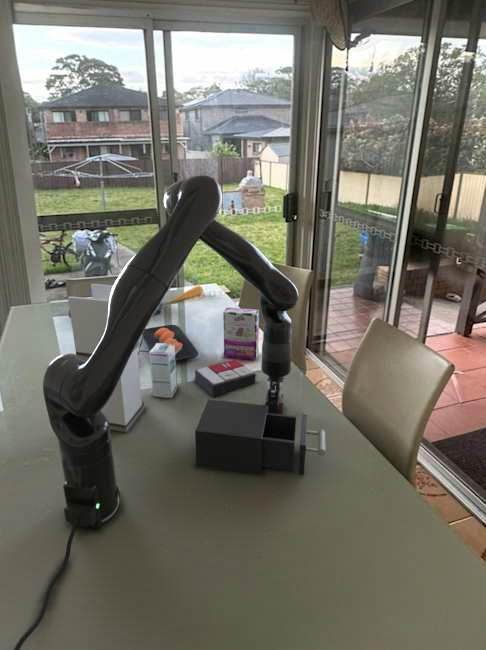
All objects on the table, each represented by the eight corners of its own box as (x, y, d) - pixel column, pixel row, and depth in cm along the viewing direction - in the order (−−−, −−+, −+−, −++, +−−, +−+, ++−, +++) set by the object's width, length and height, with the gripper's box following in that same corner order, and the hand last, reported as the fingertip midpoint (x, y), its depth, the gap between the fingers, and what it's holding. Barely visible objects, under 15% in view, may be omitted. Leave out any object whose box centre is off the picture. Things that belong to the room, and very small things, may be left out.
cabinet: (267, 438, 108) (268, 405, 104) (260, 475, 96) (261, 438, 93) (208, 432, 110) (208, 399, 107) (196, 466, 99) (194, 430, 95)
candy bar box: (258, 353, 150) (259, 309, 144) (256, 360, 146) (257, 314, 140) (226, 350, 153) (226, 306, 147) (223, 357, 148) (223, 311, 142)
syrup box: (172, 398, 125) (169, 352, 119) (152, 396, 126) (148, 351, 121) (177, 388, 130) (175, 343, 125) (158, 386, 131) (155, 342, 126)
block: (281, 417, 116) (282, 403, 114) (264, 416, 117) (265, 401, 115) (283, 408, 120) (283, 394, 118) (266, 406, 121) (267, 392, 119)
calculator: (256, 371, 131) (213, 383, 123) (255, 384, 133) (213, 397, 125) (236, 357, 140) (194, 367, 132) (235, 369, 141) (194, 380, 134)
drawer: (323, 444, 104) (326, 416, 101) (324, 478, 94) (327, 448, 91) (249, 435, 108) (249, 408, 105) (241, 467, 97) (242, 438, 94)
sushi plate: (201, 360, 146) (200, 350, 145) (109, 377, 136) (108, 367, 134) (176, 328, 171) (176, 319, 170) (97, 340, 161) (96, 331, 160)
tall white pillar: (144, 408, 120) (134, 287, 107) (126, 432, 111) (112, 301, 98) (107, 402, 123) (92, 283, 110) (86, 425, 113) (67, 297, 101)
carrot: (200, 294, 210) (197, 285, 210) (205, 293, 206) (202, 284, 206) (165, 308, 199) (162, 298, 198) (170, 307, 195) (167, 297, 195)
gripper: (264, 341, 119) (263, 395, 125) (258, 366, 106) (256, 425, 112) (292, 343, 118) (289, 397, 124) (289, 369, 105) (286, 428, 111)
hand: (274, 410), depth 118 cm, fingers open, 5 cm apart
